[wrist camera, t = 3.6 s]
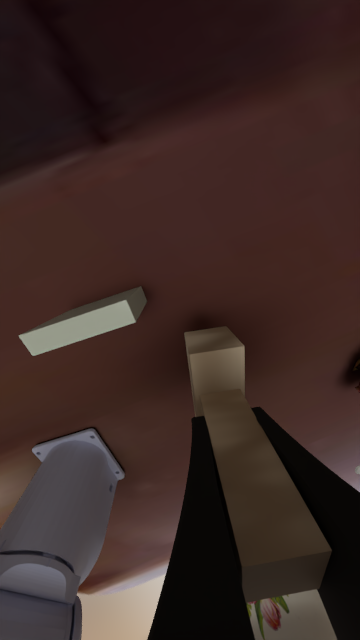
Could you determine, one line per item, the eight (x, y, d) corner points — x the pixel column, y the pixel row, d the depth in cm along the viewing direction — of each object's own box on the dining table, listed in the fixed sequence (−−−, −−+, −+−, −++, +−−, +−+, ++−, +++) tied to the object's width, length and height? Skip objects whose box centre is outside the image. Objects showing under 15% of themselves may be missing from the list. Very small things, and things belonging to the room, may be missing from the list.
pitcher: (308, 486, 28) (431, 683, 15) (209, 526, 30) (242, 733, 17) (288, 447, 24) (427, 658, 11) (178, 494, 26) (189, 724, 13)
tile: (147, 301, 16) (136, 322, 11) (78, 323, 17) (32, 356, 11) (141, 286, 16) (126, 299, 10) (71, 309, 16) (18, 335, 10)
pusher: (226, 326, 12) (368, 481, 4) (229, 412, 15) (316, 618, 6) (184, 332, 12) (226, 506, 3) (195, 417, 15) (235, 634, 6)
